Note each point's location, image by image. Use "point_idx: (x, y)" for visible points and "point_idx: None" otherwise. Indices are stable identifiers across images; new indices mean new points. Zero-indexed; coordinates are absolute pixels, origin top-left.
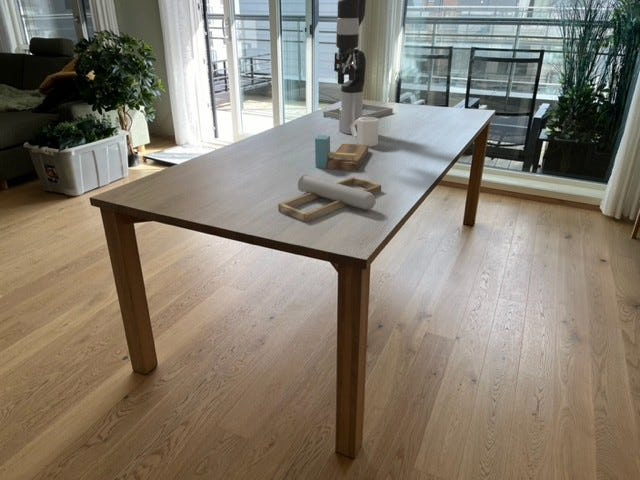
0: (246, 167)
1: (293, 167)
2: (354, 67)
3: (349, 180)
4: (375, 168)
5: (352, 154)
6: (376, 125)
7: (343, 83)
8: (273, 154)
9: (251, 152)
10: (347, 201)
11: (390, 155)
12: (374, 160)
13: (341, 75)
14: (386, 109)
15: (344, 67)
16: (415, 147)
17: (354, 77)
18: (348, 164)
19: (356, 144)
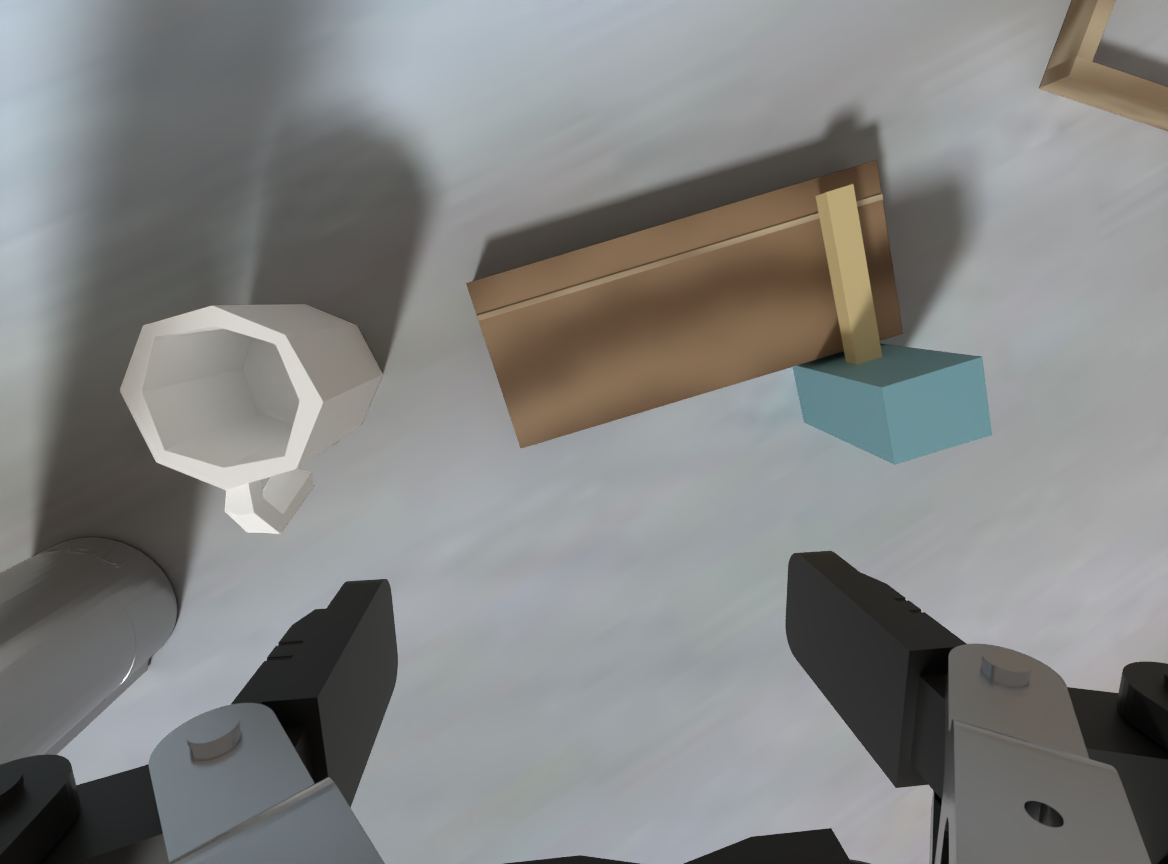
0: None
1: (917, 494)
2: (292, 743)
3: (1118, 73)
4: (767, 84)
5: (849, 205)
6: (244, 308)
7: (813, 552)
8: (765, 695)
9: (780, 795)
10: None
11: (476, 111)
12: (625, 161)
13: (961, 643)
14: None
15: (1037, 742)
16: (195, 20)
17: (356, 598)
18: (880, 209)
19: (494, 360)
